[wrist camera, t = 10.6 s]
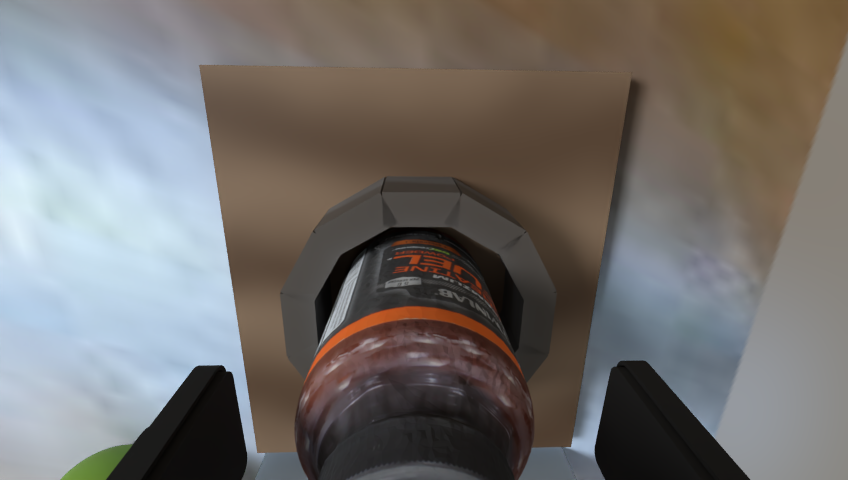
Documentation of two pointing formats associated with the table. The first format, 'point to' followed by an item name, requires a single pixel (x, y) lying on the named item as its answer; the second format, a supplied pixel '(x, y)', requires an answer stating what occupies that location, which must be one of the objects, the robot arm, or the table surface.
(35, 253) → the table surface
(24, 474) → the table surface
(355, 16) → the table surface
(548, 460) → the grey l-shaped stand
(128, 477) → the robot arm
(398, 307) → the supplement bottle
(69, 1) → the table surface
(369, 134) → the socket
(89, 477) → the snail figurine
